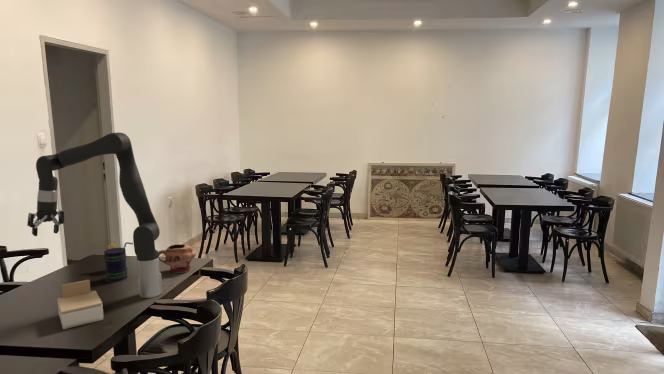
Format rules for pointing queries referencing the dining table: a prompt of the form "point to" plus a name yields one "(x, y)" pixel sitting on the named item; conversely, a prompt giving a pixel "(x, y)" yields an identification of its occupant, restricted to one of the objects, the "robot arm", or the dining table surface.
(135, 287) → the dining table surface
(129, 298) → the dining table surface
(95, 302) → the lid
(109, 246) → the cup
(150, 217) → the robot arm
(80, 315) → the base
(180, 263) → the decorative planter
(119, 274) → the storage jar
